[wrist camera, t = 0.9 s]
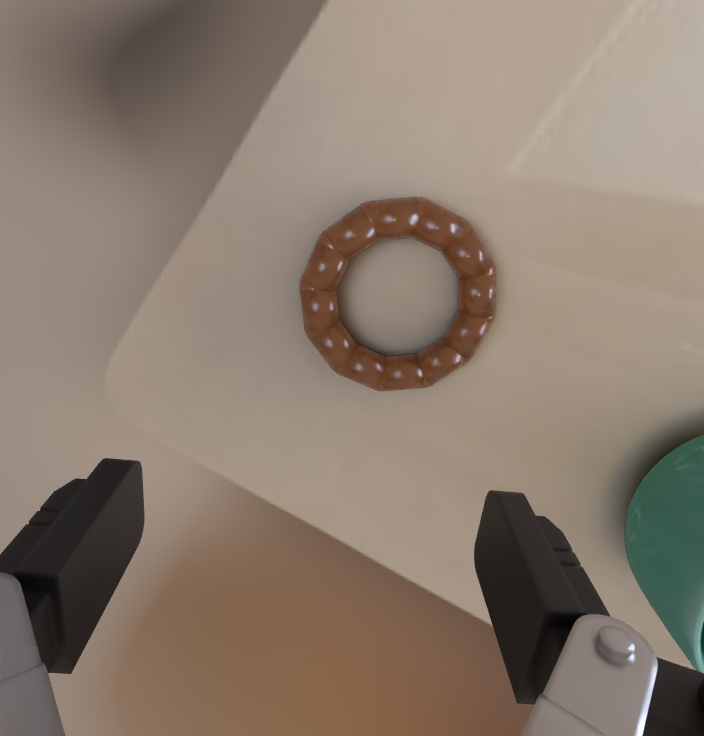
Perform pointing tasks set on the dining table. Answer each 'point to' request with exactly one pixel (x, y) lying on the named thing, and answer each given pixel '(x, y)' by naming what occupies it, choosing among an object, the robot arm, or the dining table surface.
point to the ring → (397, 223)
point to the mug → (672, 544)
